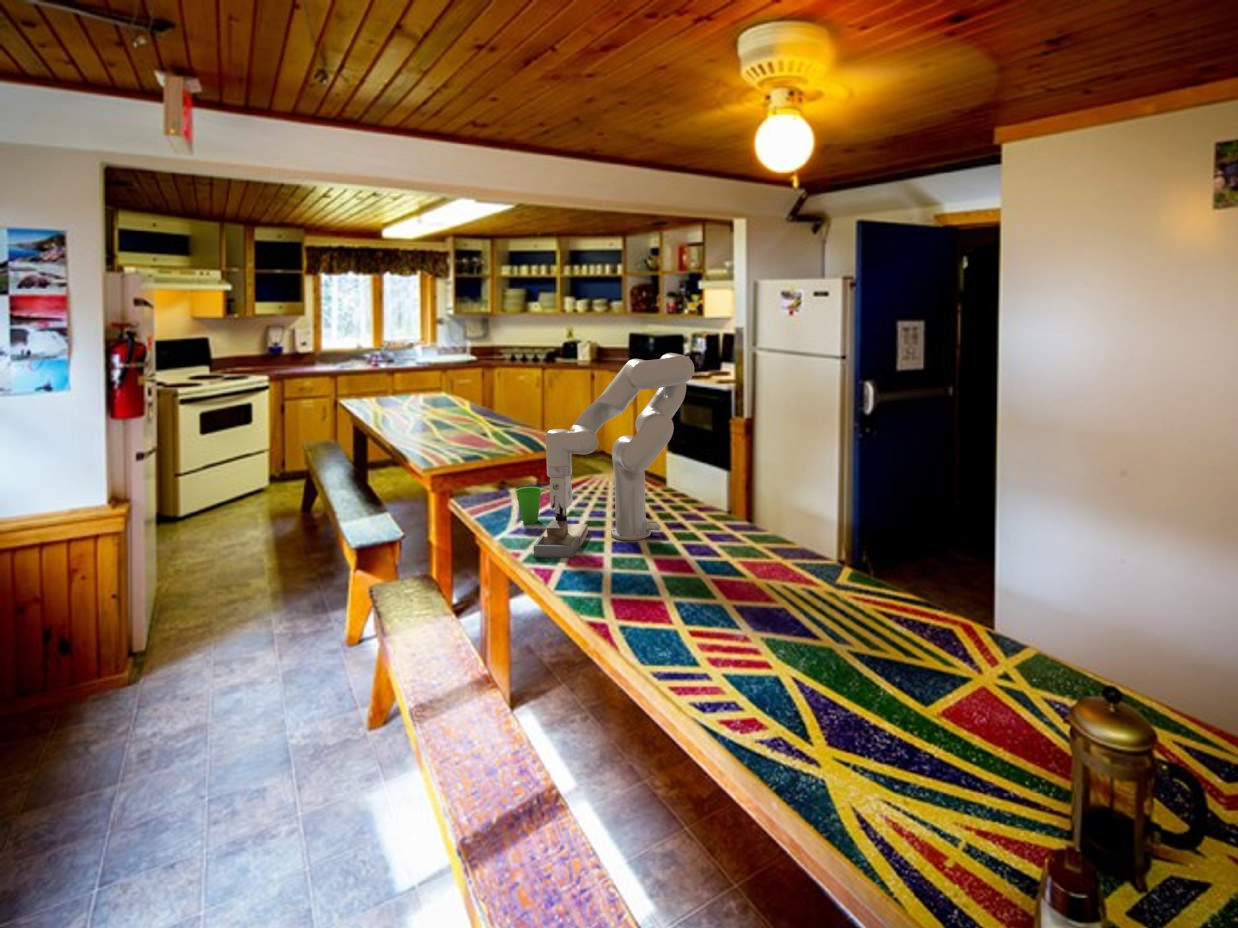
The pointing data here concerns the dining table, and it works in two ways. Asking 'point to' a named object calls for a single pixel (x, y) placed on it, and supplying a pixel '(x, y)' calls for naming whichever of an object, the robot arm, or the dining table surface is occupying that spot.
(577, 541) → the bin
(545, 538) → the board
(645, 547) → the dining table surface
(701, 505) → the dining table surface
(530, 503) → the cup
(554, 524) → the block
